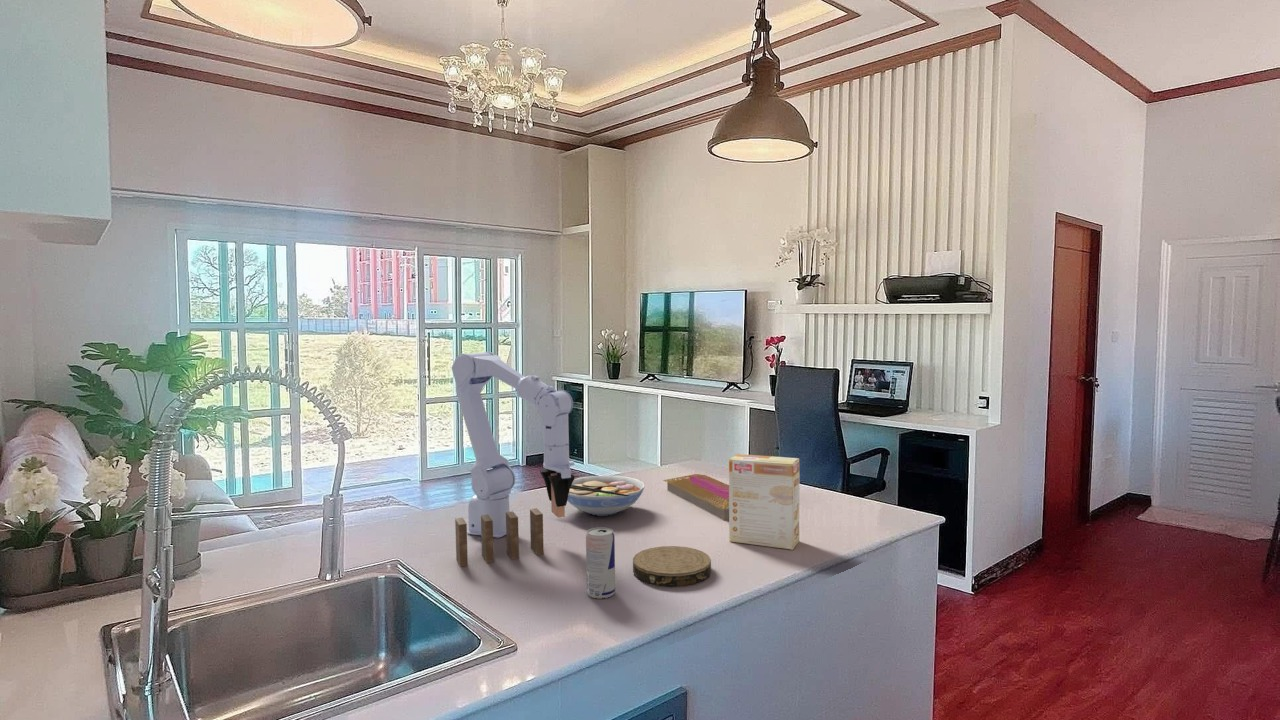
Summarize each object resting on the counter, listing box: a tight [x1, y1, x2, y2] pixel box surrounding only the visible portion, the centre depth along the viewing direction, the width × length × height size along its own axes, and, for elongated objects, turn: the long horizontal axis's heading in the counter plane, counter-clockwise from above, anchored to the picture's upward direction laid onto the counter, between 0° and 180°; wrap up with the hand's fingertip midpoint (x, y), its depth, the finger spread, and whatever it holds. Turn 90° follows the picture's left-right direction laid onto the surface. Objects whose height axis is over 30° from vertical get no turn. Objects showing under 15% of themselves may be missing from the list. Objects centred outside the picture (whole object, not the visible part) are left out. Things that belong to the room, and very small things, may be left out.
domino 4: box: [529, 508, 545, 556], centre depth 154 cm, size 2×5×9 cm, turn 24°
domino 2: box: [480, 514, 495, 563], centre depth 149 cm, size 2×5×9 cm, turn 24°
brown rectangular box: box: [663, 473, 729, 522], centre depth 193 cm, size 35×14×6 cm, turn 24°
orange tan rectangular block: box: [550, 473, 566, 518], centre depth 158 cm, size 2×5×9 cm, turn 24°
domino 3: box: [505, 510, 520, 560], centre depth 152 cm, size 2×5×9 cm, turn 23°
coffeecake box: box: [728, 453, 801, 551], centre depth 158 cm, size 15×7×20 cm, turn 65°
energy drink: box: [585, 526, 616, 600], centre depth 130 cm, size 5×5×12 cm
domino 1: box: [454, 517, 469, 567], centre depth 147 cm, size 2×5×9 cm, turn 23°
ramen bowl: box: [567, 475, 646, 517], centre depth 183 cm, size 25×23×8 cm
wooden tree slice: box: [632, 545, 712, 588], centre depth 141 cm, size 16×16×3 cm
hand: (557, 503), depth 158 cm, fingers closed on orange tan rectangular block, 5 cm apart
